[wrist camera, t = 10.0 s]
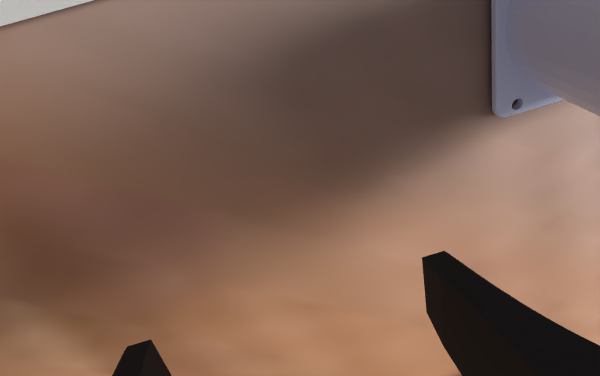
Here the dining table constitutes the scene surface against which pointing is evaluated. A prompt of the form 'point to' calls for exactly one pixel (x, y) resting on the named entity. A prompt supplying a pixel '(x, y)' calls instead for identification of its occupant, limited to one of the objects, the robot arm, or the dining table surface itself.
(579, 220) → the dining table surface
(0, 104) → the dining table surface
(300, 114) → the dining table surface
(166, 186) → the dining table surface
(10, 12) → the grey bay
